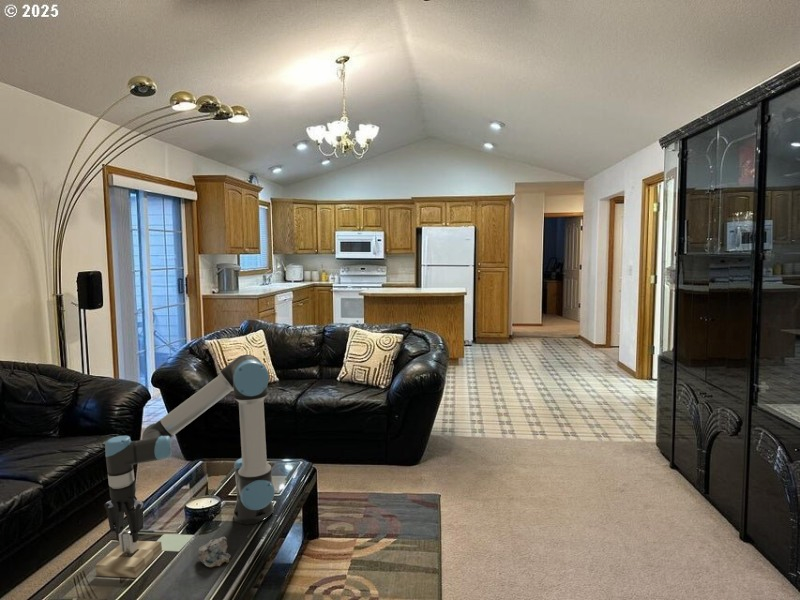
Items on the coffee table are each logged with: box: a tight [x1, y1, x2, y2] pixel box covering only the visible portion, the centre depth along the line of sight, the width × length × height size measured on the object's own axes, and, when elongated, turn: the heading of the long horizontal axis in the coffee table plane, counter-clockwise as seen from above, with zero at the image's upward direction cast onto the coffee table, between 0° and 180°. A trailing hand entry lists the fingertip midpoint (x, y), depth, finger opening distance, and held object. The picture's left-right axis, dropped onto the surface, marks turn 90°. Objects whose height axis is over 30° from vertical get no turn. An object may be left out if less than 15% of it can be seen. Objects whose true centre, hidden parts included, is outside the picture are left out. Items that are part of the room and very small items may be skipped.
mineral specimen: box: [197, 536, 231, 568], centre depth 170 cm, size 10×8×10 cm
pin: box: [122, 529, 135, 557], centre depth 170 cm, size 3×3×10 cm
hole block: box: [95, 540, 163, 578], centre depth 170 cm, size 14×14×4 cm
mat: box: [156, 533, 195, 552], centre depth 182 cm, size 12×10×1 cm
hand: (129, 550), depth 170 cm, fingers closed on pin, 3 cm apart
